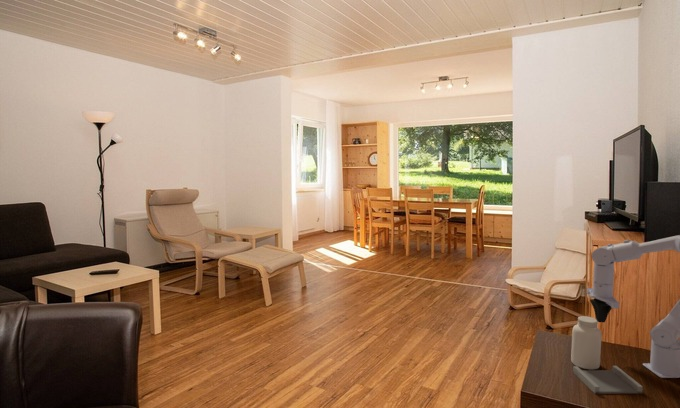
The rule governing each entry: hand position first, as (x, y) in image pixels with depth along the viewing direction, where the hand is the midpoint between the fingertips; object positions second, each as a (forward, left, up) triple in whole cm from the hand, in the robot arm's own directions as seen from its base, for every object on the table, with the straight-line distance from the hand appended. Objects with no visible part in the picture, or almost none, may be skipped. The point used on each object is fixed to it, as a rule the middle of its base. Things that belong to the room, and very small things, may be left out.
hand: (600, 321), depth 138 cm
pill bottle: (+9, +8, -11) cm, 17 cm away
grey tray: (+9, +19, -11) cm, 24 cm away
